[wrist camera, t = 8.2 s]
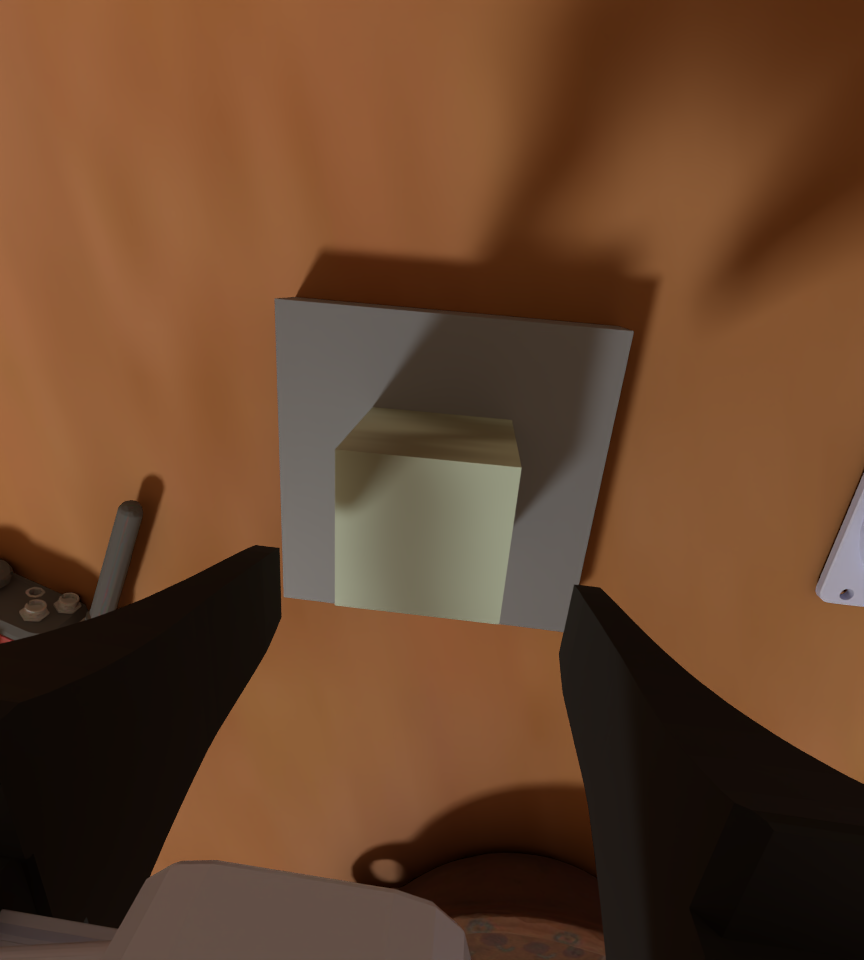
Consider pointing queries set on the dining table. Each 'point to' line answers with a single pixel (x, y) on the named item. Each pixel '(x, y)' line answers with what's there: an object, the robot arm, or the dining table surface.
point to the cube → (425, 514)
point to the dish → (518, 906)
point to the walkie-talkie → (37, 609)
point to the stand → (459, 391)
